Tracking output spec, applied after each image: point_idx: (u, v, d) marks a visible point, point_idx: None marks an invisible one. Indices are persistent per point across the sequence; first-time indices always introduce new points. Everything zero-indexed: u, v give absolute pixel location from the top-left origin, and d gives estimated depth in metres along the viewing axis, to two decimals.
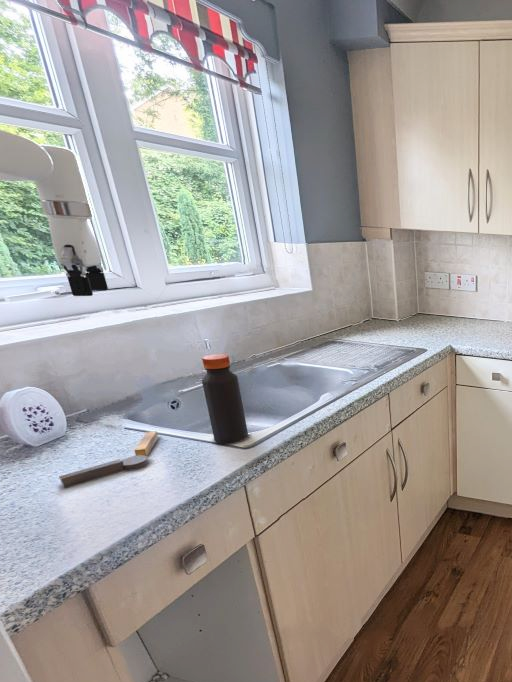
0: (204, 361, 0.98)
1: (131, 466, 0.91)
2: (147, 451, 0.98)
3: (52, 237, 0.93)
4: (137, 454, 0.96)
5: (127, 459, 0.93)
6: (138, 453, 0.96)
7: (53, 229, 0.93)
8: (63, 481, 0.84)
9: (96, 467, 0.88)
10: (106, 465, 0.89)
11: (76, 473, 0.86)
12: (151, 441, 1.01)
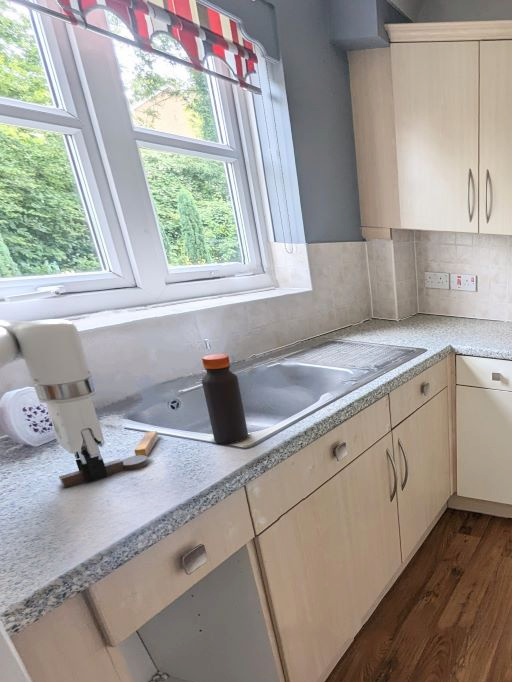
0: (204, 361, 0.98)
1: (131, 466, 0.91)
2: (147, 451, 0.98)
3: (66, 425, 0.80)
4: (137, 454, 0.96)
5: (127, 459, 0.93)
6: (138, 453, 0.96)
7: (67, 416, 0.80)
8: (63, 481, 0.84)
9: None
10: (106, 465, 0.89)
11: (76, 473, 0.86)
12: (151, 441, 1.01)
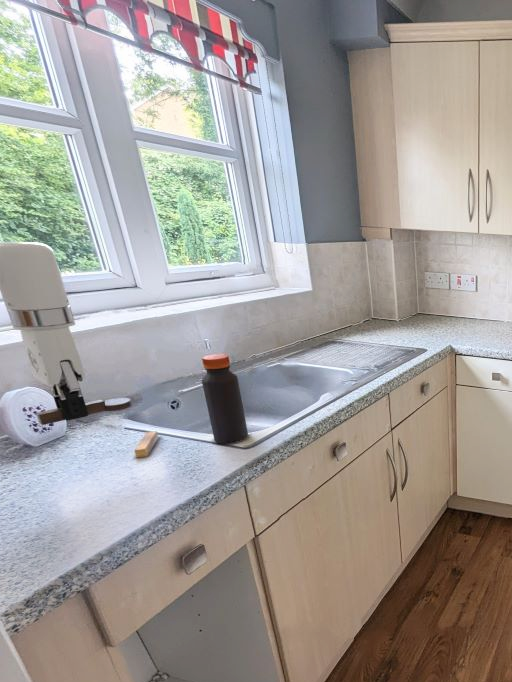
0: (204, 361, 0.98)
1: (113, 406, 0.87)
2: (147, 451, 0.98)
3: (43, 354, 0.75)
4: (137, 454, 0.96)
5: (109, 400, 0.89)
6: (138, 453, 0.96)
7: (44, 344, 0.75)
8: (40, 417, 0.80)
9: None
10: (86, 404, 0.85)
11: (54, 410, 0.81)
12: (151, 441, 1.01)
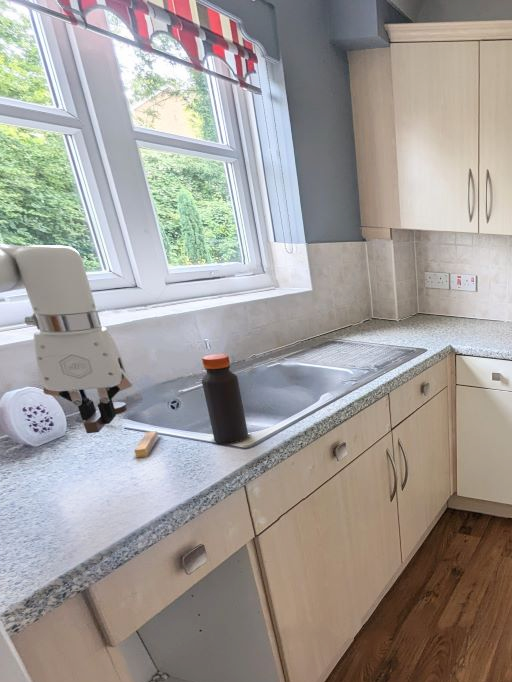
0: (204, 361, 0.98)
1: (122, 408, 0.88)
2: (147, 451, 0.98)
3: (110, 353, 0.78)
4: (137, 454, 0.96)
5: None
6: (138, 453, 0.96)
7: (108, 344, 0.78)
8: (96, 424, 0.79)
9: None
10: None
11: (95, 417, 0.80)
12: (151, 441, 1.01)
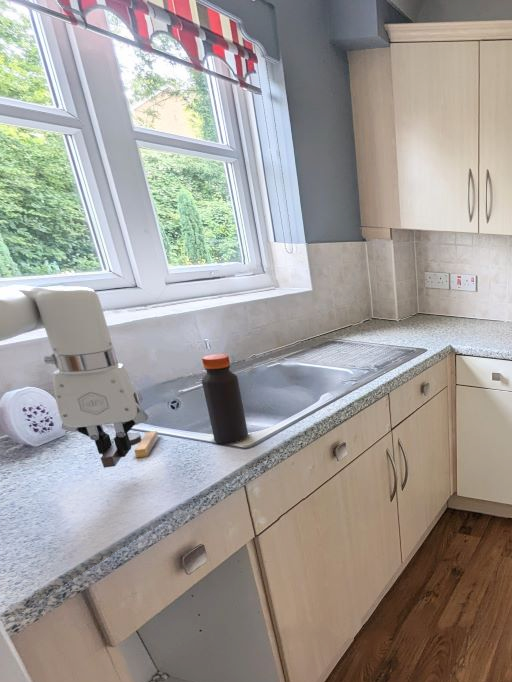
0: (204, 361, 0.98)
1: (137, 439, 0.90)
2: (147, 451, 0.98)
3: (126, 389, 0.80)
4: (137, 454, 0.96)
5: None
6: (138, 453, 0.96)
7: (124, 380, 0.80)
8: (113, 459, 0.81)
9: None
10: None
11: (112, 451, 0.82)
12: (151, 441, 1.01)
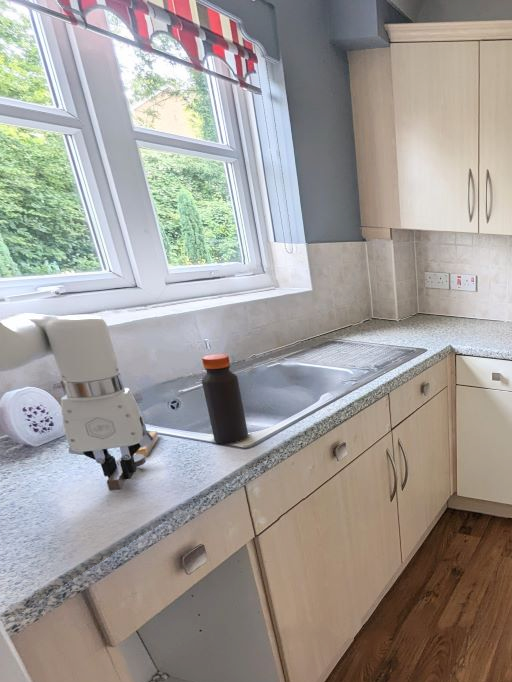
0: (204, 361, 0.98)
1: (142, 460, 0.91)
2: (147, 451, 0.98)
3: (132, 414, 0.82)
4: None
5: None
6: (138, 453, 0.96)
7: (131, 405, 0.82)
8: (118, 482, 0.83)
9: None
10: None
11: (117, 474, 0.84)
12: None
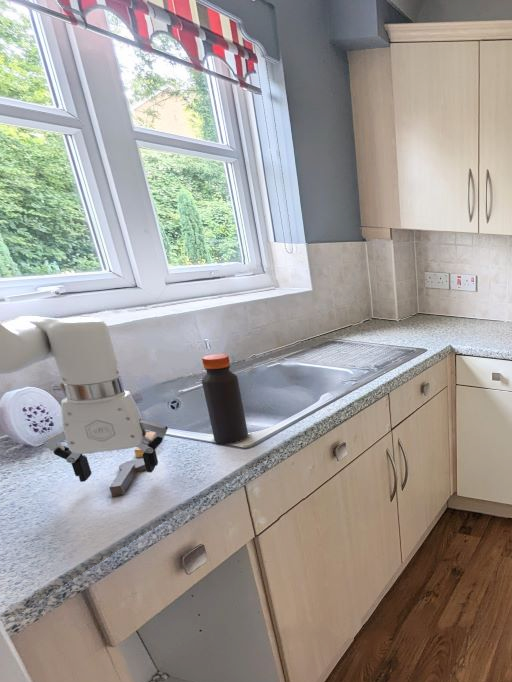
0: (204, 361, 0.98)
1: (144, 466, 0.92)
2: None
3: (132, 417, 0.82)
4: (137, 454, 0.96)
5: (124, 466, 0.91)
6: (138, 453, 0.96)
7: (131, 408, 0.82)
8: (121, 488, 0.83)
9: (124, 473, 0.87)
10: (130, 469, 0.88)
11: (120, 480, 0.84)
12: None
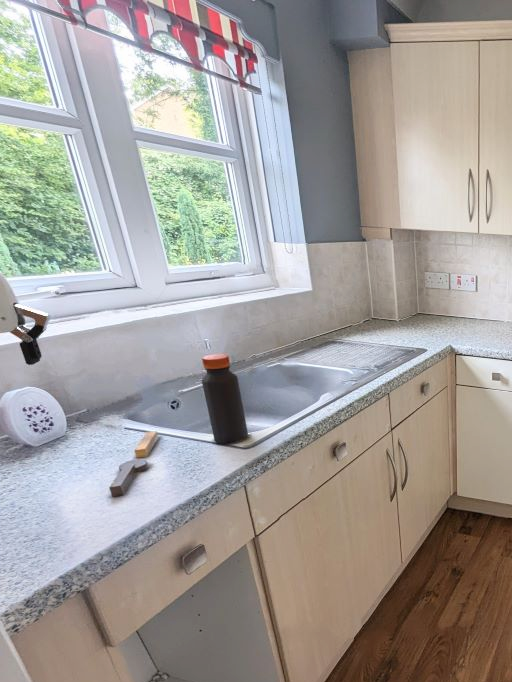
0: (204, 361, 0.98)
1: (144, 466, 0.92)
2: (147, 451, 0.98)
3: (2, 296, 0.74)
4: (137, 454, 0.96)
5: (124, 466, 0.91)
6: (138, 453, 0.96)
7: (0, 286, 0.74)
8: (121, 488, 0.83)
9: (124, 473, 0.87)
10: (130, 469, 0.88)
11: (120, 480, 0.84)
12: (151, 441, 1.01)
